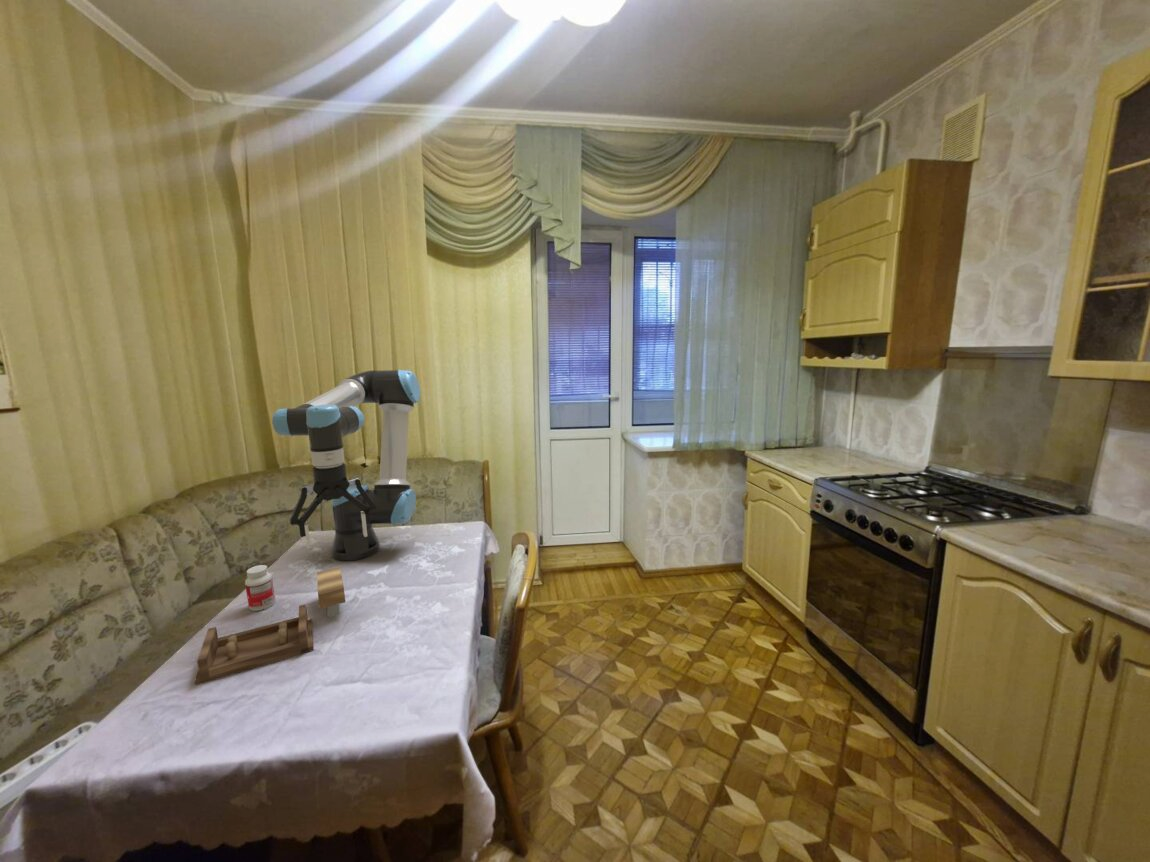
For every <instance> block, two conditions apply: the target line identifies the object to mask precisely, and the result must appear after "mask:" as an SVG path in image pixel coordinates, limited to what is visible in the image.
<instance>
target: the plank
mask: <svg viewBox="0 0 1150 862" xmlns="http://www.w3.org/2000/svg"><path fill="white" fill-rule="evenodd" d="M316 582H317V583H316V585H317V596H318V597H317V598H318V606H319V610H320V609H321V610H322V609H324V608H327V607H329V606H333V605H337V604H339V605H340V604H344V603H346V596H345V589H344V580H343V575H342V569H341V566H338V567H333V568H330V569H326V570H321V571H316Z"/></svg>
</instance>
